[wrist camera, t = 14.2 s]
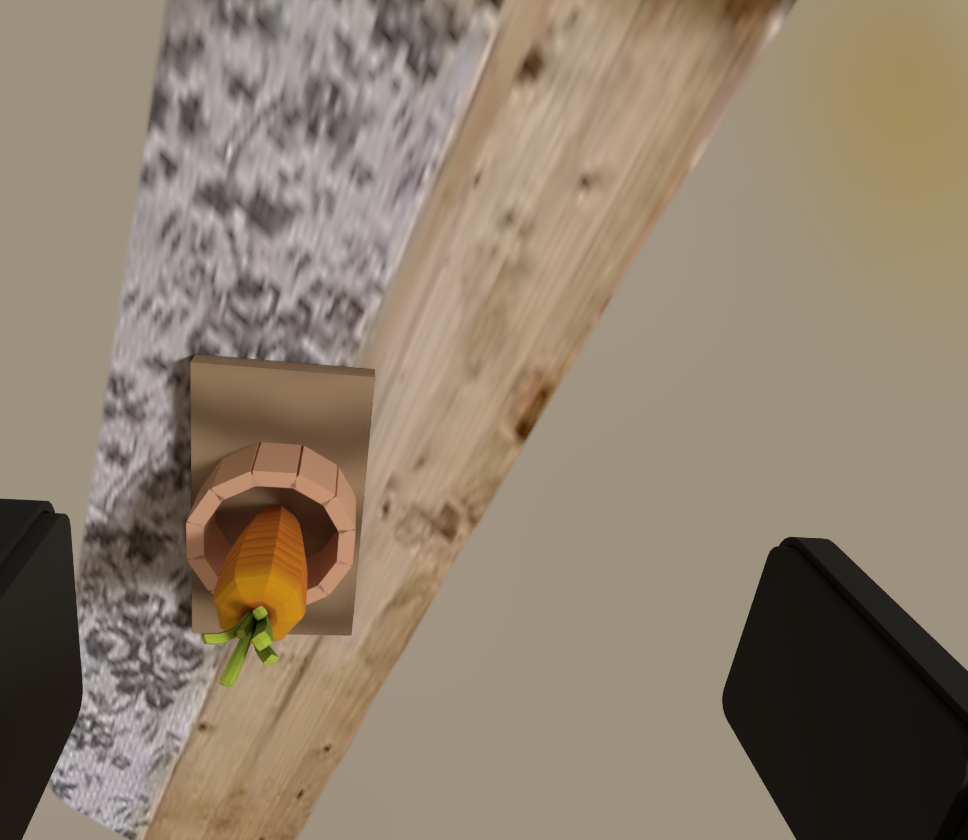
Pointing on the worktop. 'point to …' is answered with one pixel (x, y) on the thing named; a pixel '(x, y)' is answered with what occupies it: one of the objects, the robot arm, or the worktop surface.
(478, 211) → the worktop surface
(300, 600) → the carrot
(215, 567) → the terracotta cup
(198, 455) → the walnut board
